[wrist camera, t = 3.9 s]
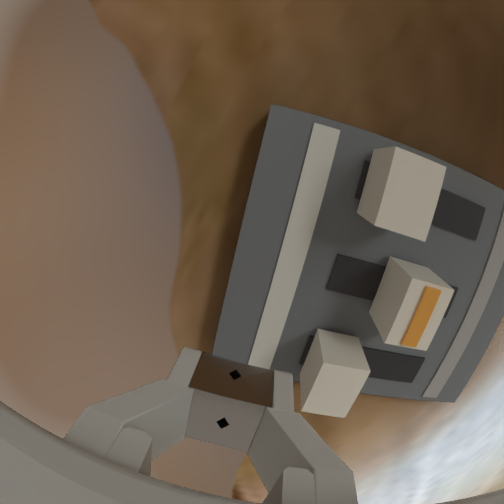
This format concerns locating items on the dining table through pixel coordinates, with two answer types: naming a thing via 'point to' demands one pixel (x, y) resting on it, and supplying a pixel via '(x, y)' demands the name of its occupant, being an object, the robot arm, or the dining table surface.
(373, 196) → the block
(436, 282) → the breaker mid
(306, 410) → the breaker
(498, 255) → the panel
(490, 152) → the dining table surface
